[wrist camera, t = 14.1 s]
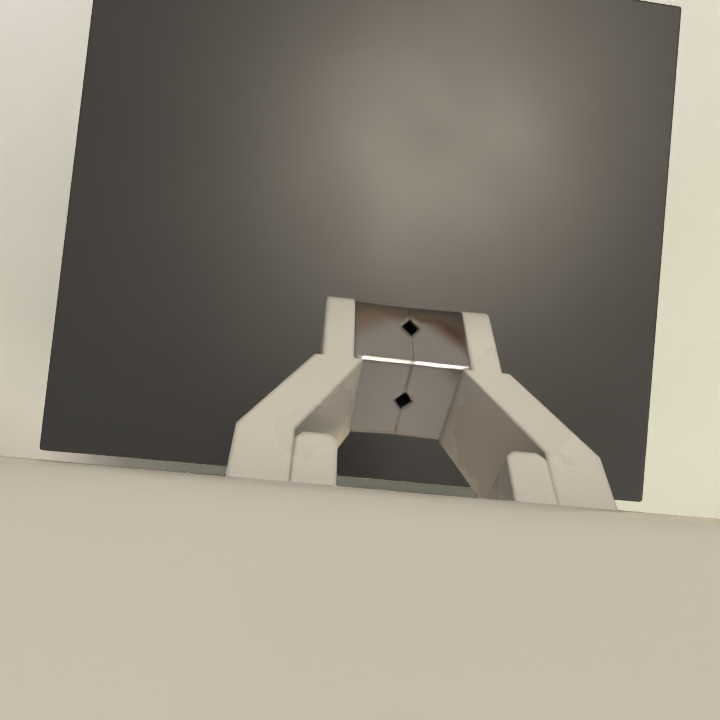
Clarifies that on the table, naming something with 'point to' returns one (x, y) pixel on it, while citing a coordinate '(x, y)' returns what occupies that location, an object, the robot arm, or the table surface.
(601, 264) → the bin lid
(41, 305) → the table surface
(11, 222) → the table surface
